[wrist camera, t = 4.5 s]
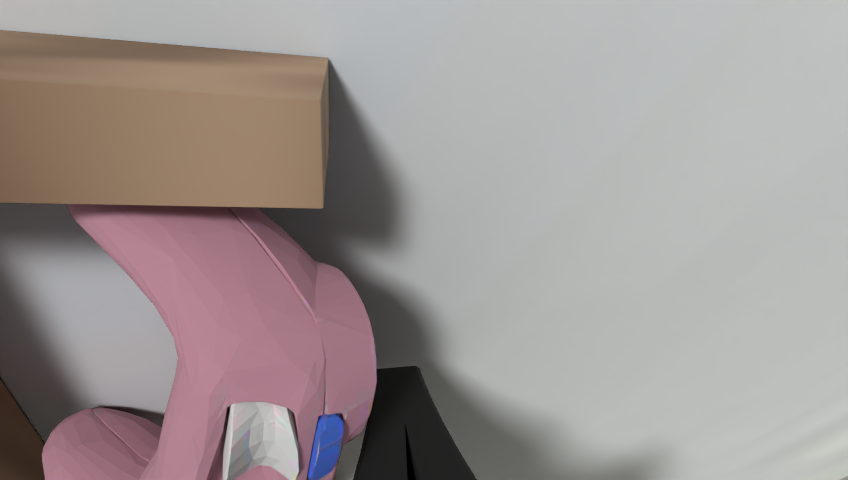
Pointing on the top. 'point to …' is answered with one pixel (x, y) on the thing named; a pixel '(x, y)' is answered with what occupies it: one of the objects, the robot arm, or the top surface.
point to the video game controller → (228, 353)
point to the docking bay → (152, 141)
